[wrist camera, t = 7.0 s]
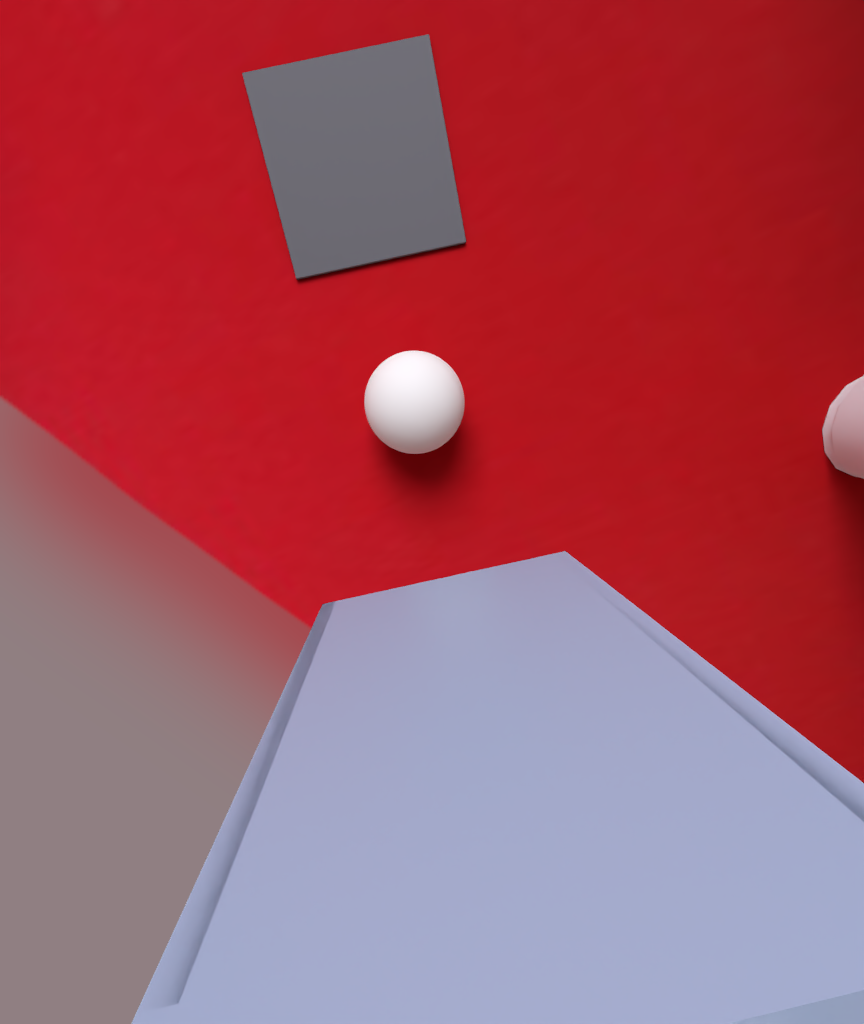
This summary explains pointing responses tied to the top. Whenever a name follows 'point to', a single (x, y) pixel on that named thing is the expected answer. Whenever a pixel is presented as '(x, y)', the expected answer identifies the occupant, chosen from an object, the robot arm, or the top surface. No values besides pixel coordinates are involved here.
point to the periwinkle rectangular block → (522, 829)
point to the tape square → (358, 156)
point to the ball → (414, 402)
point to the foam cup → (846, 430)
